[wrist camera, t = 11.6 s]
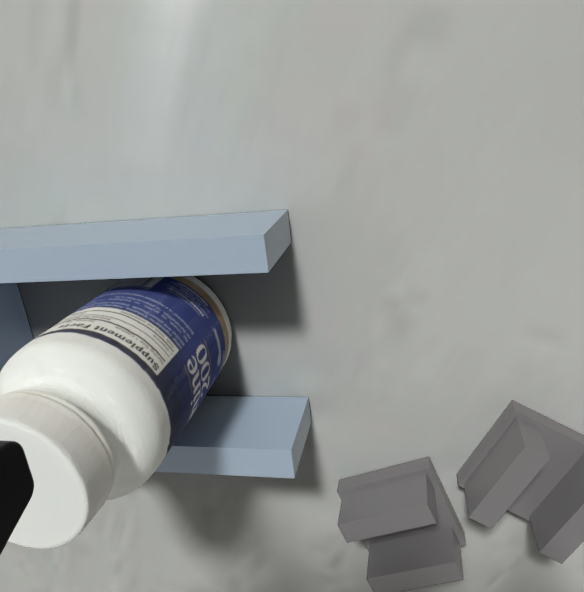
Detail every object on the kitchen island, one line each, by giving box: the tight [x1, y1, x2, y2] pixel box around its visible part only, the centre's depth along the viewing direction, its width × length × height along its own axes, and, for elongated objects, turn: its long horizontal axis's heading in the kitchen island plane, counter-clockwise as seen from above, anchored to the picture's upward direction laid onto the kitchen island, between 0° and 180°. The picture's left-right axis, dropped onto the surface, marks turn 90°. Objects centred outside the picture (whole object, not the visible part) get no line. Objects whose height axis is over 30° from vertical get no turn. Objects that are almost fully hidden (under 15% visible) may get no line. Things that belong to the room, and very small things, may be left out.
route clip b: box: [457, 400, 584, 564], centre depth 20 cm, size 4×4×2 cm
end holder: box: [0, 210, 311, 478], centre depth 21 cm, size 13×9×4 cm
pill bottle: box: [0, 276, 232, 549], centre depth 18 cm, size 5×5×10 cm
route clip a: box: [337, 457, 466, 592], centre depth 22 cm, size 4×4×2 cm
